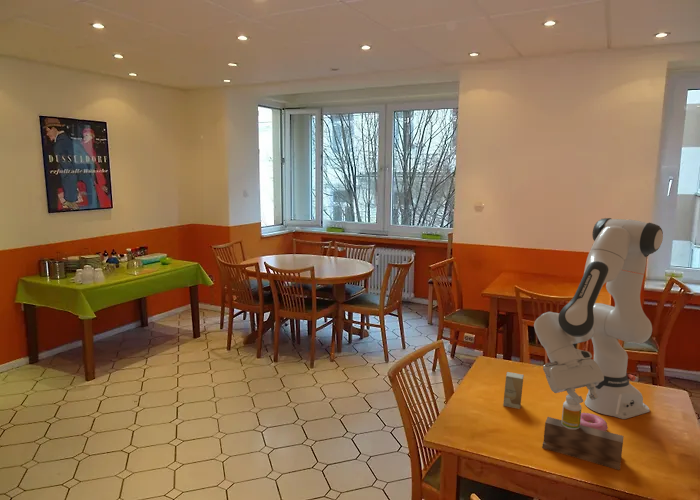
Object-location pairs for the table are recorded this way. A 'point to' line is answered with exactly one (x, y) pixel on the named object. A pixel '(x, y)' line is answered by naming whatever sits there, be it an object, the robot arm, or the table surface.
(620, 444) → the beam
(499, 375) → the table surface
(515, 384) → the skincare box
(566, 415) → the supplement bottle
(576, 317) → the robot arm
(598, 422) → the doughnut
